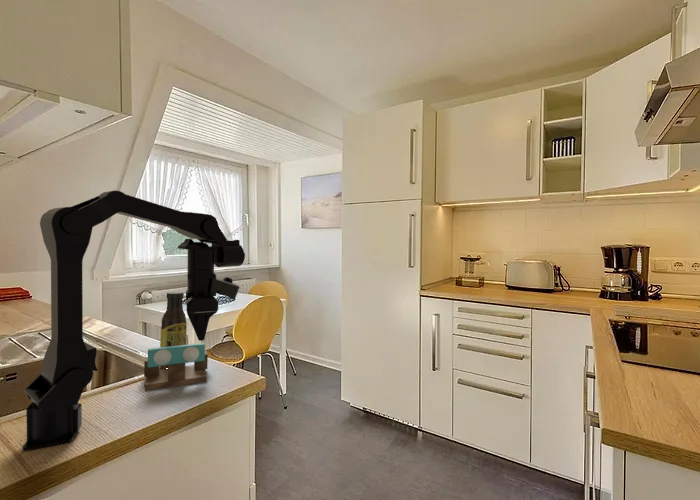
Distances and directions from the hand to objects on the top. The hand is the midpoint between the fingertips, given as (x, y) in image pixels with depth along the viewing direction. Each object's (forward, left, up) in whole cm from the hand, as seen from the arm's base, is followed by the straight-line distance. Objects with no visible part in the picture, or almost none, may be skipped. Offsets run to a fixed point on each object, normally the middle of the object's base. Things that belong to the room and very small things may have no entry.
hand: (200, 334), depth 83 cm
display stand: (-5, +6, -12) cm, 15 cm away
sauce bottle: (-6, +16, -12) cm, 21 cm away
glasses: (-5, +6, -7) cm, 11 cm away
